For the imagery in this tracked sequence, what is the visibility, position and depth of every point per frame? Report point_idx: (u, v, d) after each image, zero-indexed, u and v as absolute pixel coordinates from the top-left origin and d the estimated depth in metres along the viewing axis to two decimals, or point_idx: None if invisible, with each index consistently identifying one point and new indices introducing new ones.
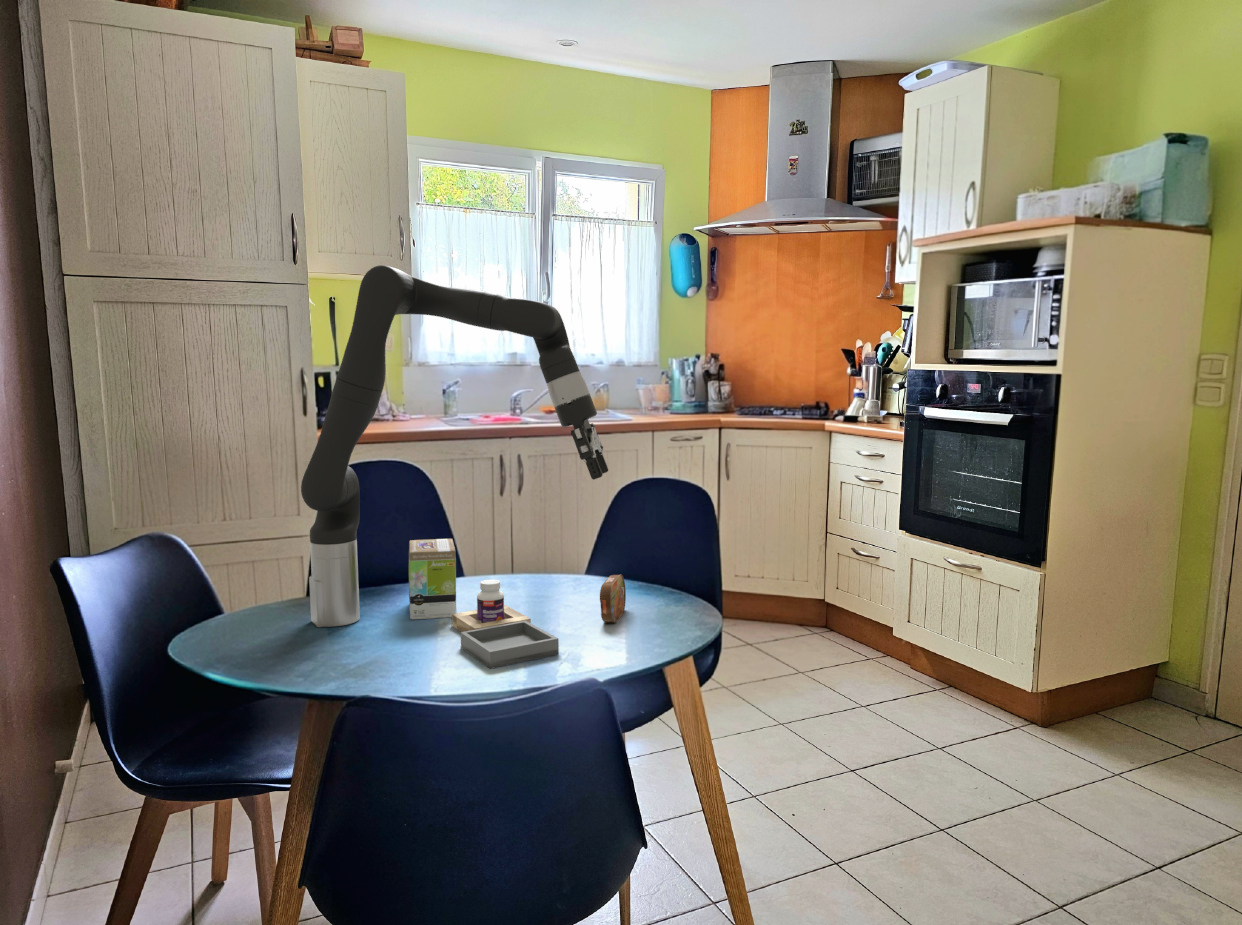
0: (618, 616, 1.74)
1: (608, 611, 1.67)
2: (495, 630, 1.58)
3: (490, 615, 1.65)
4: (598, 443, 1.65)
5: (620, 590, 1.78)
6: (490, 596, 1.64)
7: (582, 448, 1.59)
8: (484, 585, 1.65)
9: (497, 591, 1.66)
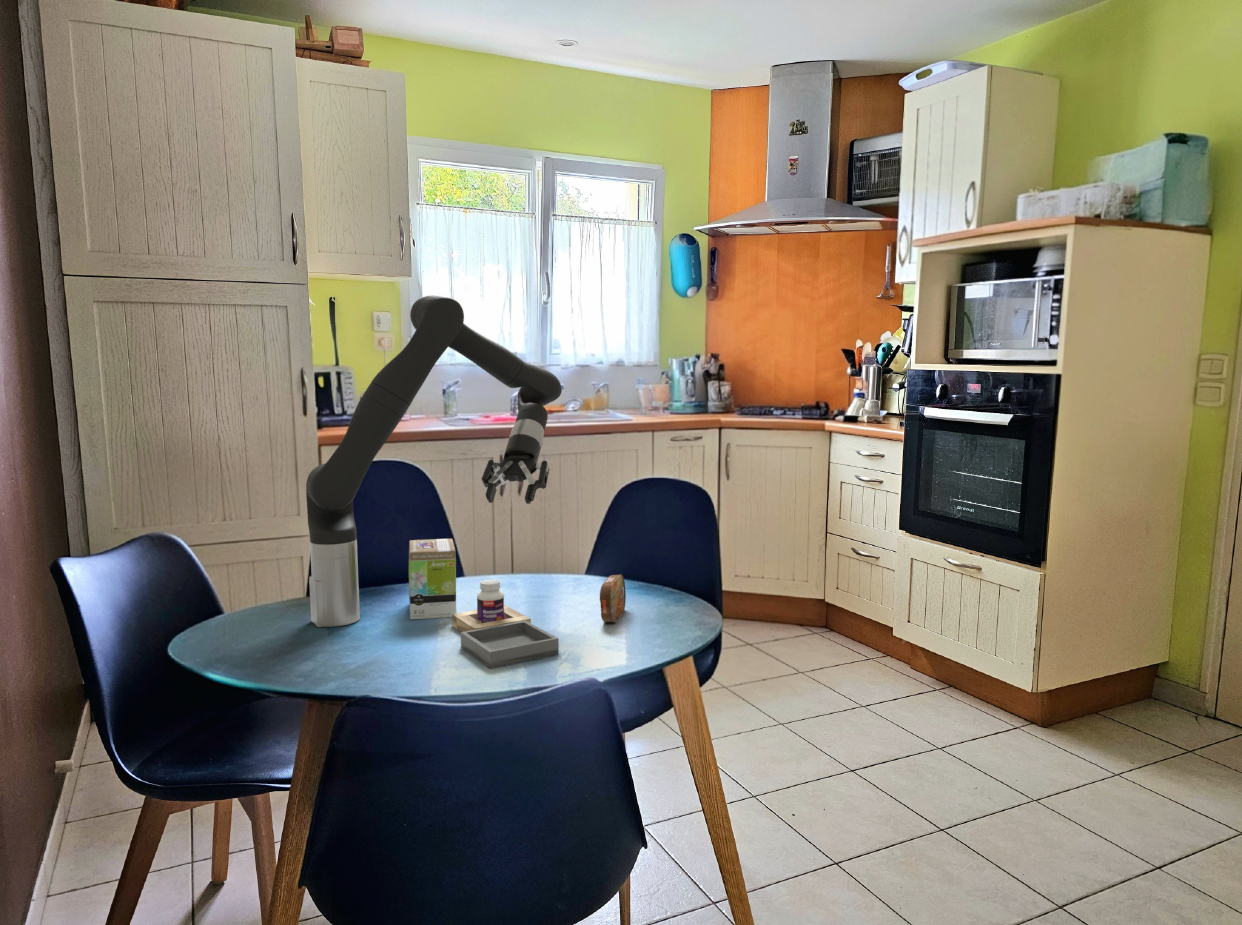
0: (618, 616, 1.74)
1: (608, 611, 1.67)
2: (495, 630, 1.58)
3: (490, 615, 1.65)
4: (504, 482, 1.82)
5: (620, 590, 1.78)
6: (490, 596, 1.64)
7: (531, 475, 1.79)
8: (484, 585, 1.65)
9: (497, 591, 1.66)
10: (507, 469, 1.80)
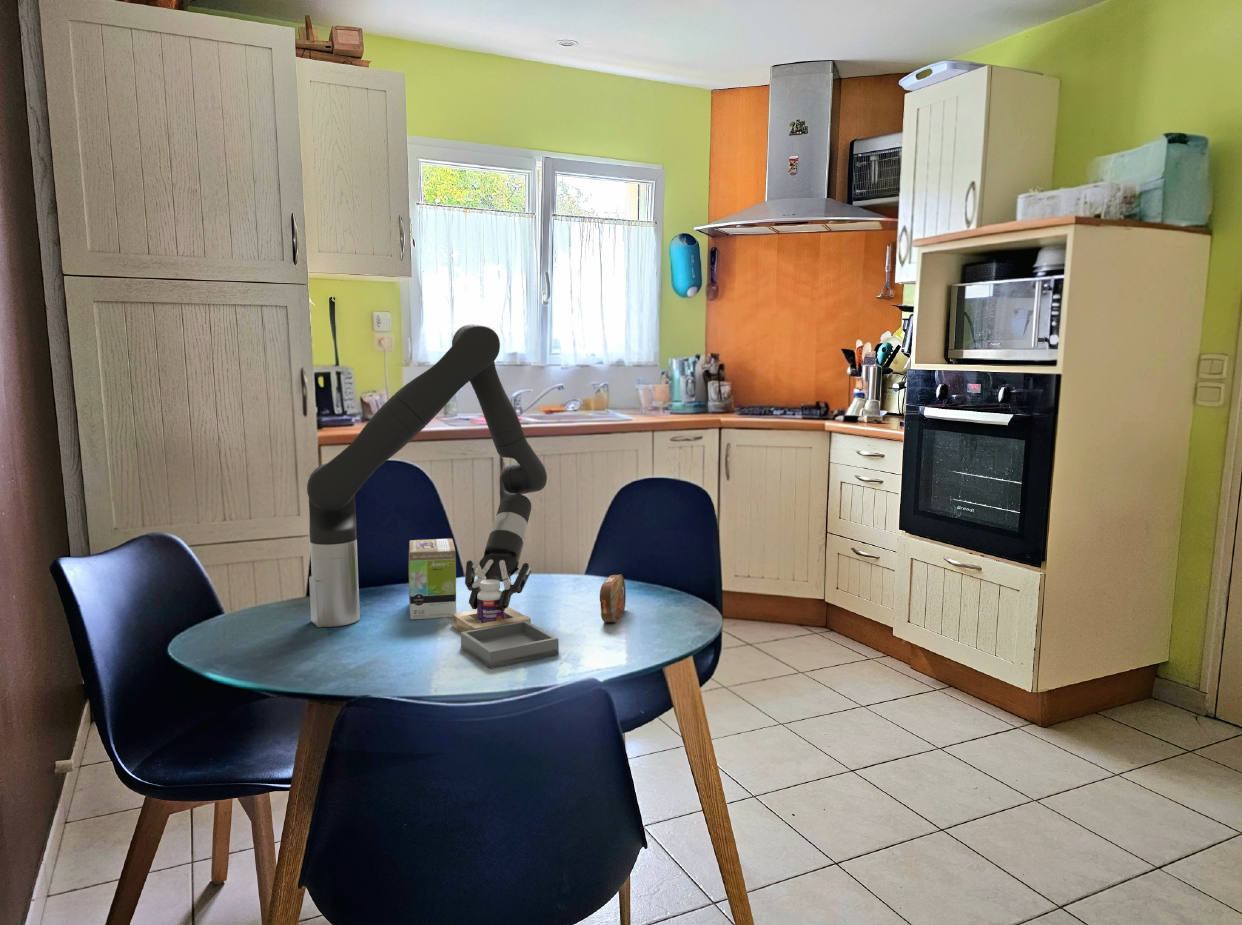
0: (618, 616, 1.74)
1: (608, 611, 1.67)
2: (495, 630, 1.58)
3: (490, 614, 1.64)
4: None
5: (620, 590, 1.78)
6: (490, 596, 1.64)
7: (509, 579, 1.68)
8: (484, 585, 1.65)
9: (497, 591, 1.66)
10: (489, 569, 1.69)
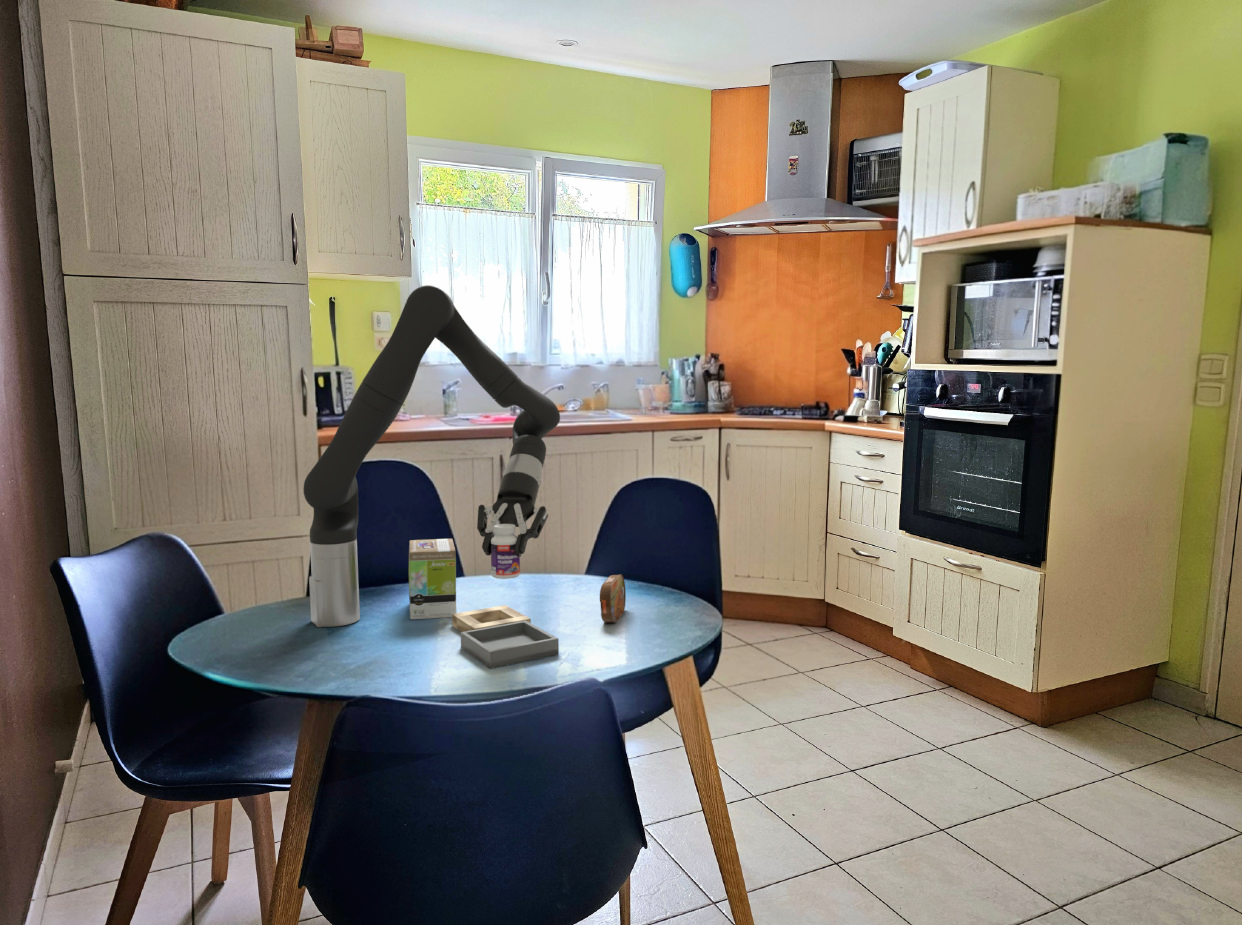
0: (618, 616, 1.74)
1: (608, 611, 1.67)
2: (495, 630, 1.58)
3: (506, 560, 1.53)
4: None
5: (620, 590, 1.78)
6: (505, 540, 1.53)
7: (524, 523, 1.56)
8: (498, 529, 1.53)
9: (512, 535, 1.54)
10: (503, 513, 1.58)
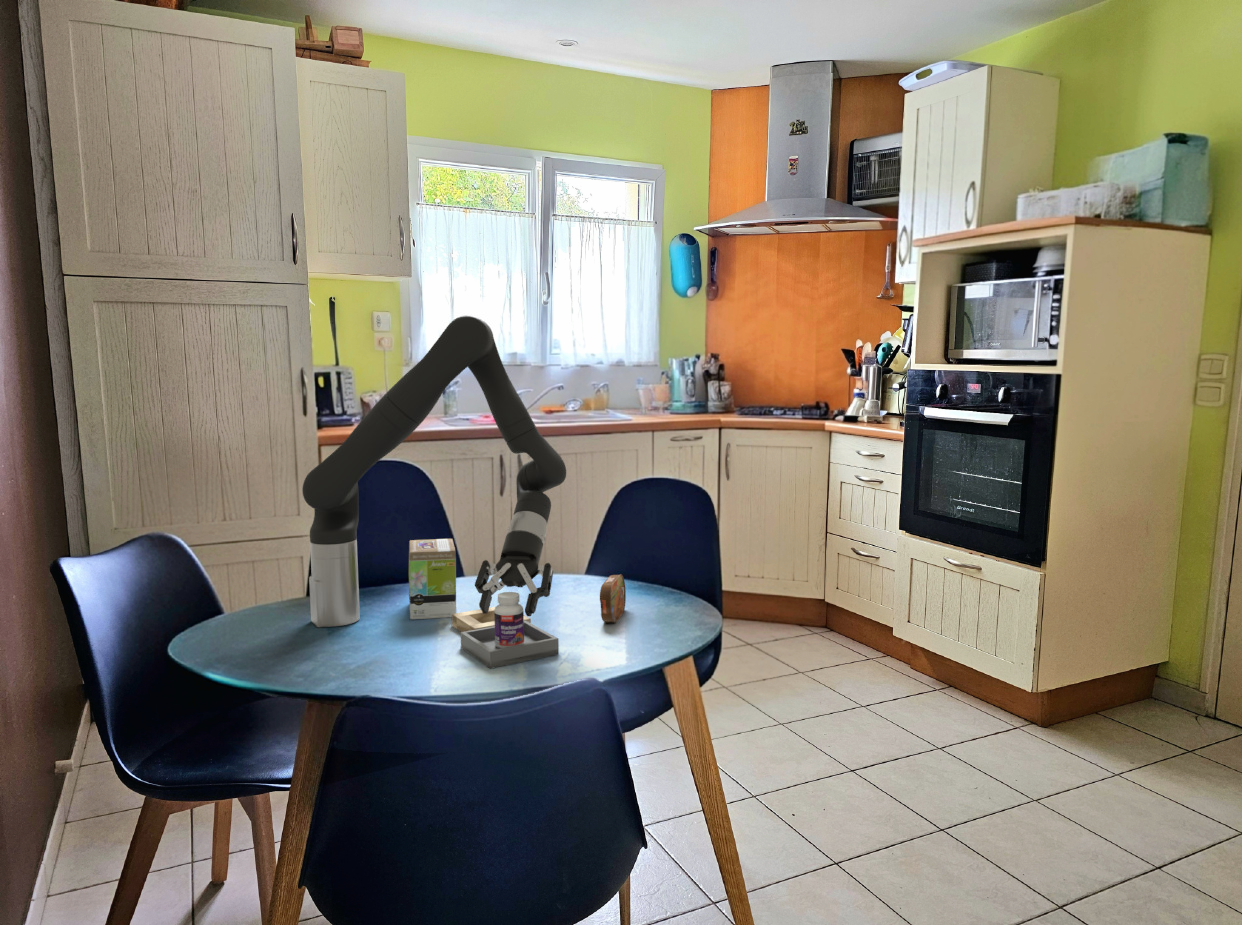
0: (618, 616, 1.74)
1: (608, 611, 1.67)
2: None
3: (509, 631, 1.50)
4: (501, 587, 1.57)
5: (620, 590, 1.78)
6: (509, 610, 1.50)
7: (532, 581, 1.54)
8: (502, 598, 1.51)
9: (516, 605, 1.52)
10: (504, 573, 1.55)
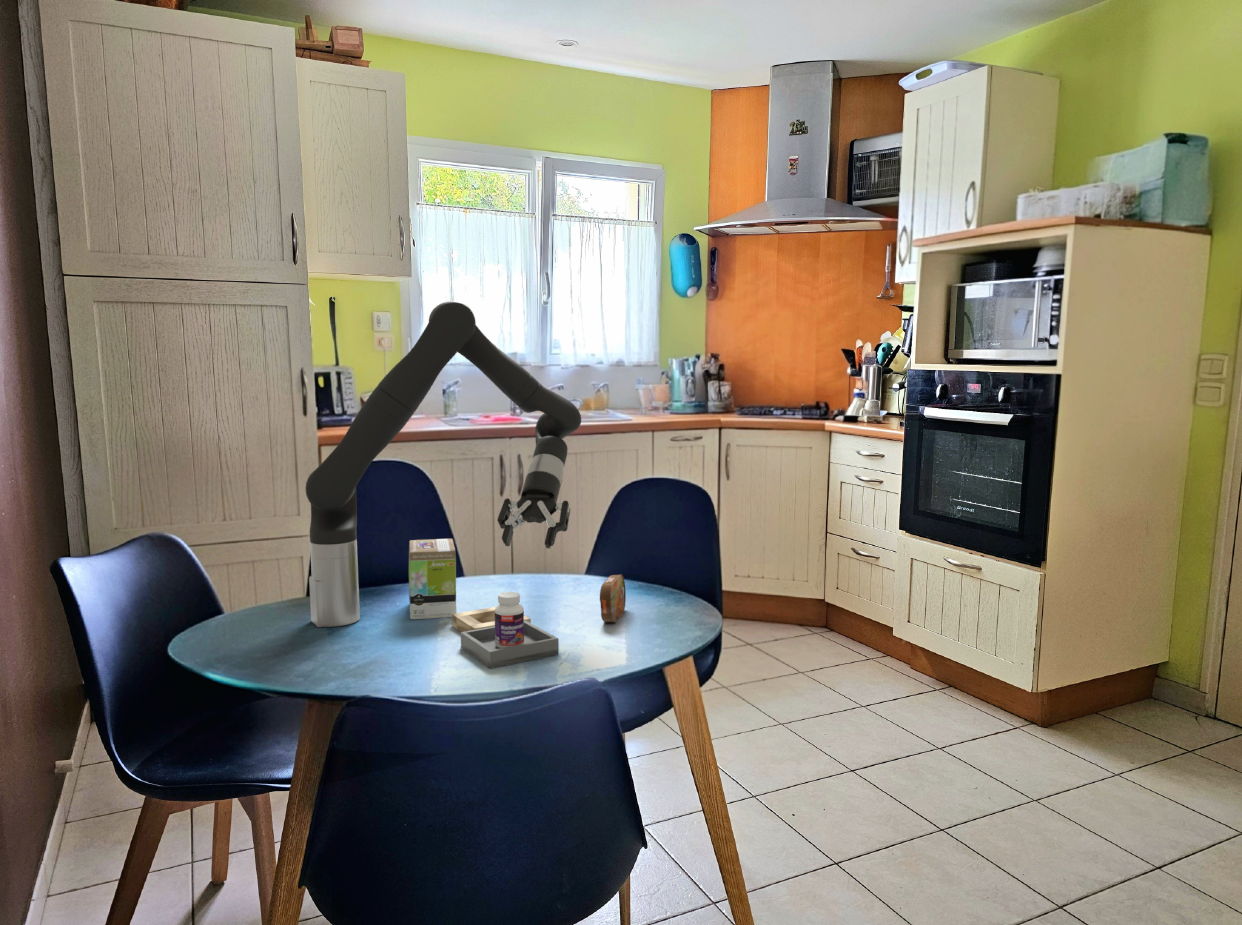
0: (618, 616, 1.74)
1: (608, 611, 1.67)
2: None
3: (509, 631, 1.50)
4: (522, 523, 1.68)
5: (620, 590, 1.78)
6: (509, 610, 1.50)
7: (551, 517, 1.66)
8: (502, 598, 1.51)
9: (516, 605, 1.52)
10: (525, 509, 1.67)
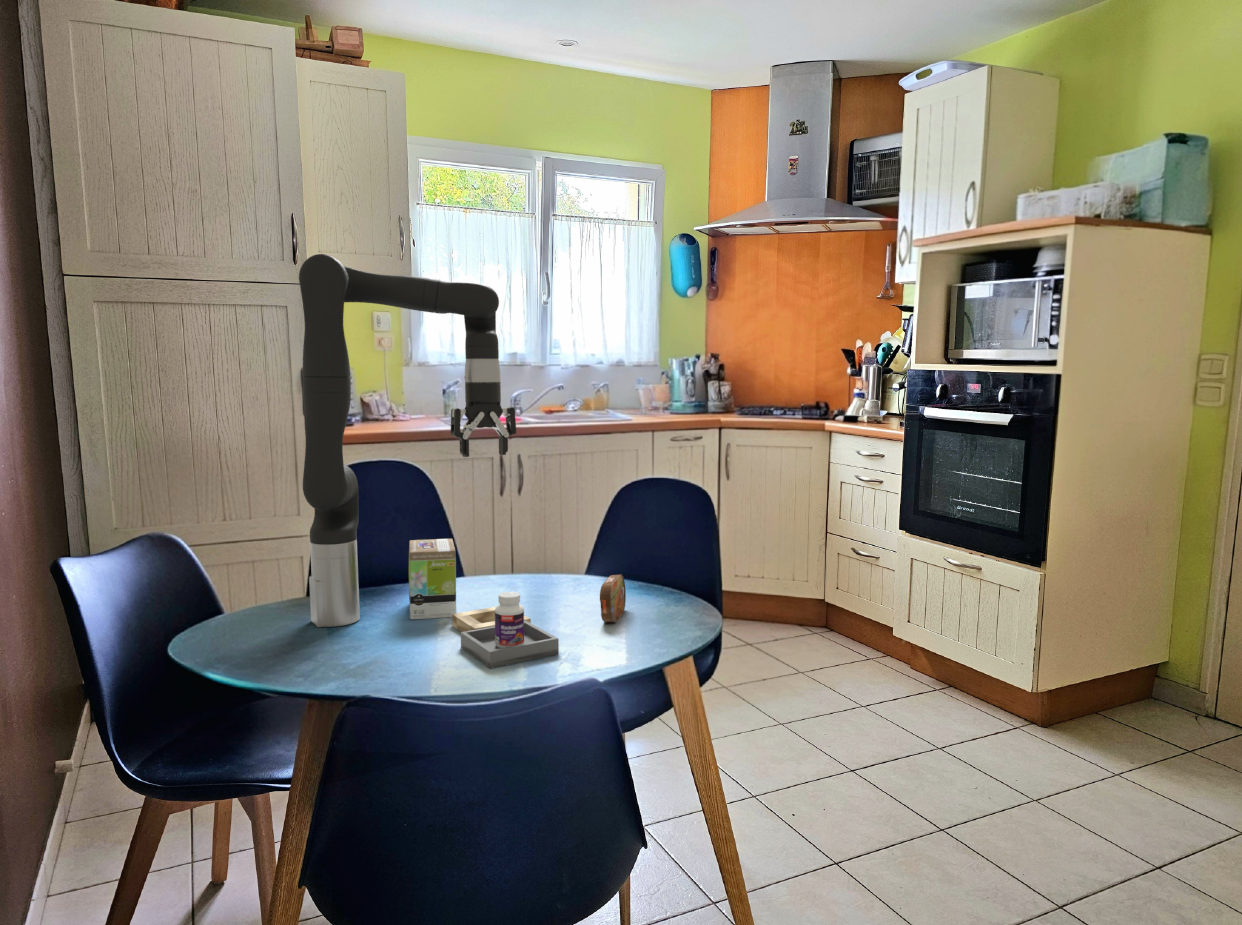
0: (618, 616, 1.74)
1: (608, 611, 1.67)
2: None
3: (509, 631, 1.50)
4: None
5: (620, 590, 1.78)
6: (509, 610, 1.50)
7: None
8: (502, 598, 1.51)
9: (517, 605, 1.52)
10: (479, 421, 1.75)
